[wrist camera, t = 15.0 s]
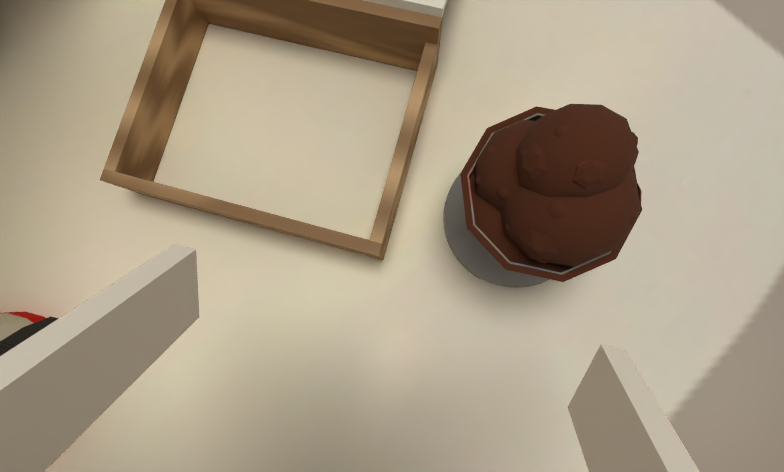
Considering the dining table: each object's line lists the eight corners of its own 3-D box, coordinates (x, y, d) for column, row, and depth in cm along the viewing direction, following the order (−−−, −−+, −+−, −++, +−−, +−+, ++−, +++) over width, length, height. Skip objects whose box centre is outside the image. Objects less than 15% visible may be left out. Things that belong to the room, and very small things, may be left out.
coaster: (433, 164, 35) (433, 161, 34) (566, 142, 34) (569, 139, 34) (455, 296, 33) (457, 297, 33) (595, 275, 33) (599, 275, 32)
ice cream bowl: (426, 188, 34) (436, 114, 19) (542, 137, 34) (643, 23, 19) (478, 300, 32) (532, 315, 18) (599, 247, 32) (756, 217, 18)
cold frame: (202, 11, 38) (159, -44, 32) (437, 64, 36) (442, 16, 30) (138, 192, 36) (78, 173, 30) (383, 259, 34) (375, 254, 28)
